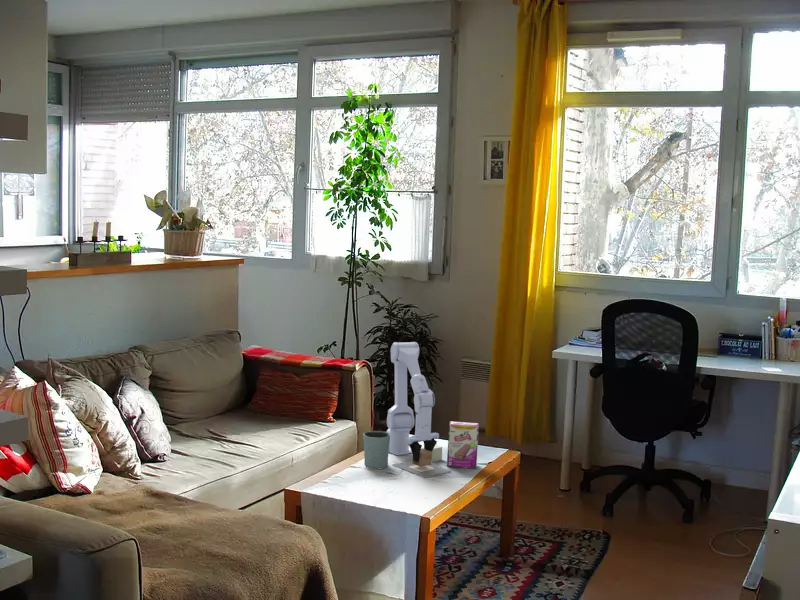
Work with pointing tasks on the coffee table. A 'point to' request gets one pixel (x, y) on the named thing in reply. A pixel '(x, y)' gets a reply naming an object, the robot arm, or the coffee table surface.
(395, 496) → the coffee table surface
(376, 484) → the coffee table surface
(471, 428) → the candy bar box
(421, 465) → the walnut block
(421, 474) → the board
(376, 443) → the green plant pot
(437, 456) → the sage block
